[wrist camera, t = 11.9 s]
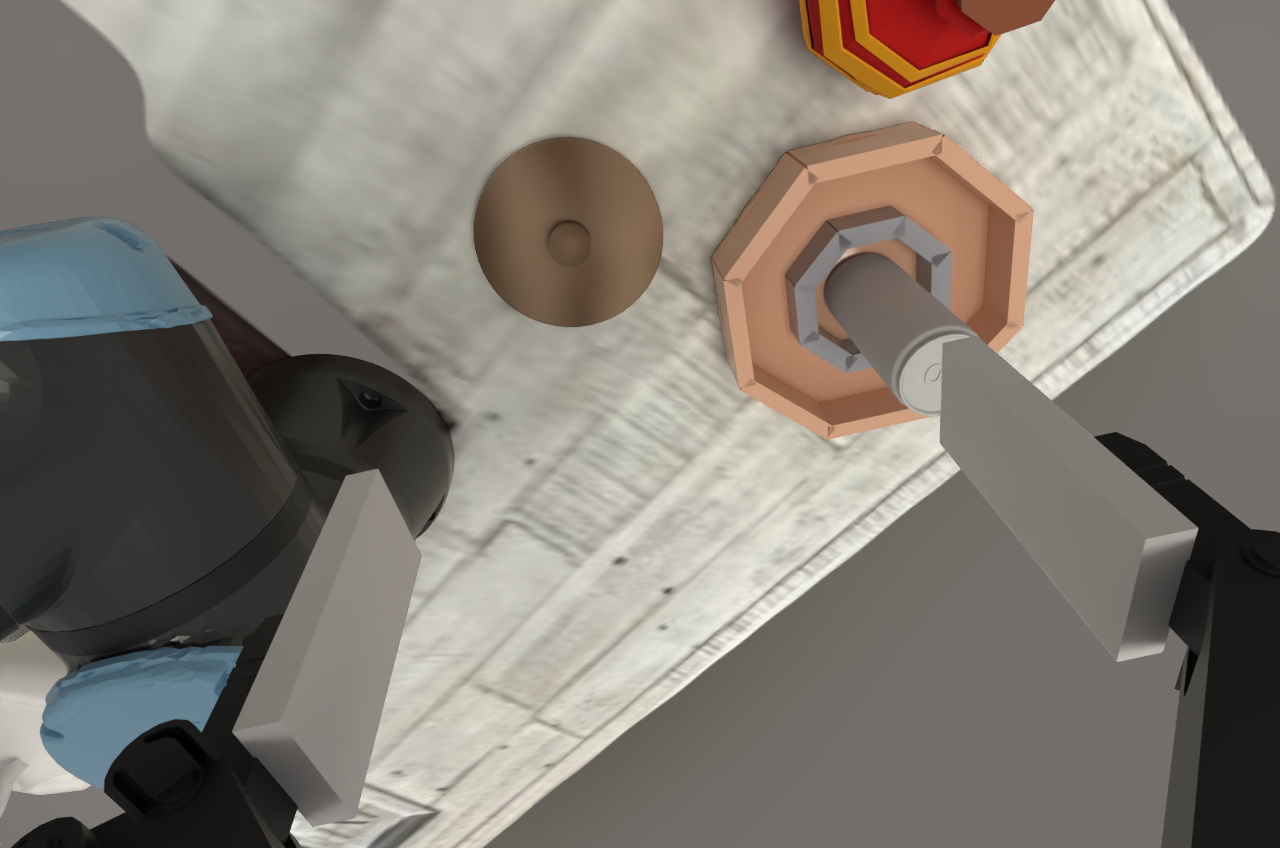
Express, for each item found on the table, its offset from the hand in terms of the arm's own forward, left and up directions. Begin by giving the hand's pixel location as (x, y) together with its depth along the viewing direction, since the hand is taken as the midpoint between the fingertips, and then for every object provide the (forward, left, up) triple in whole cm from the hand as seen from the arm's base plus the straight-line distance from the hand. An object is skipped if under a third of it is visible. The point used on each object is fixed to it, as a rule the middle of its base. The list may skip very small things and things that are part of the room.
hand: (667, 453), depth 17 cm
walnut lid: (-3, -3, -29) cm, 29 cm away
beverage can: (+14, -10, -28) cm, 33 cm away
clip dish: (+14, -10, -29) cm, 33 cm away
